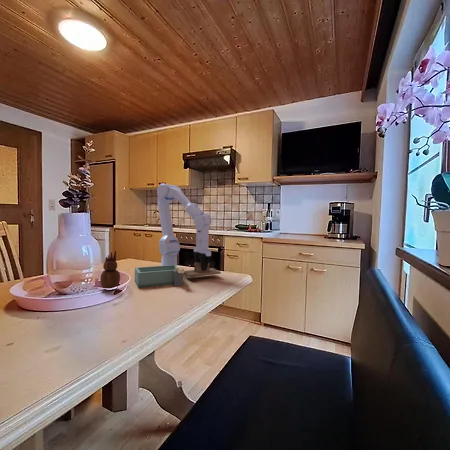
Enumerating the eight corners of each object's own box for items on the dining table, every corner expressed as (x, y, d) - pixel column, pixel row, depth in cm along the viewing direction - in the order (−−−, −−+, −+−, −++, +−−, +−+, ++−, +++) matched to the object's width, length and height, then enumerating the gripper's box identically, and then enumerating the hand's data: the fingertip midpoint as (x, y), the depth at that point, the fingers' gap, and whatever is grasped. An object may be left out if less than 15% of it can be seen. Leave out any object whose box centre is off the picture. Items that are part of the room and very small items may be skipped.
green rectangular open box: (134, 281, 112) (134, 267, 112) (175, 277, 120) (175, 264, 120) (139, 290, 100) (139, 274, 99) (184, 285, 108) (184, 270, 107)
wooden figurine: (122, 287, 102) (122, 250, 102) (114, 292, 97) (114, 252, 96) (106, 286, 103) (106, 249, 102) (97, 291, 97) (97, 251, 97)
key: (175, 270, 107) (175, 266, 107) (180, 269, 108) (180, 266, 108) (179, 273, 102) (179, 269, 102) (184, 272, 103) (184, 269, 103)
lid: (182, 273, 120) (183, 262, 120) (212, 270, 128) (212, 260, 127) (189, 277, 113) (189, 265, 112) (220, 273, 120) (220, 263, 120)
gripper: (188, 239, 124) (188, 267, 124) (201, 242, 111) (200, 273, 112) (201, 238, 127) (201, 265, 128) (215, 241, 115) (215, 271, 115)
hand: (201, 269), depth 120 cm, fingers closed on lid, 4 cm apart
